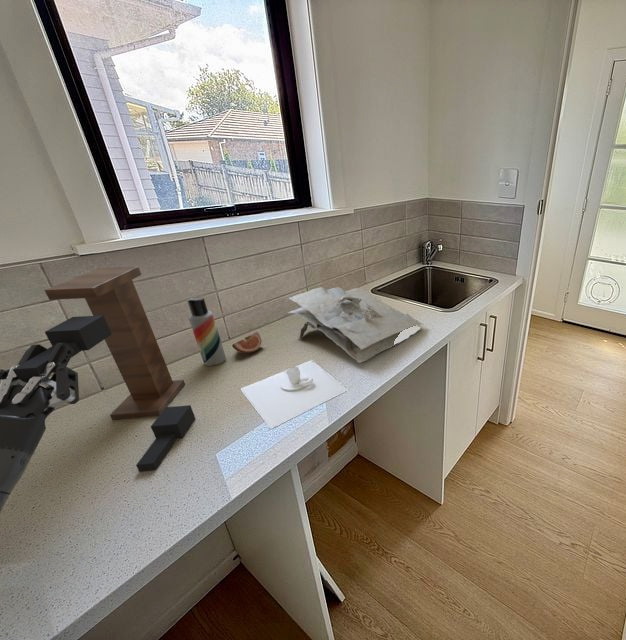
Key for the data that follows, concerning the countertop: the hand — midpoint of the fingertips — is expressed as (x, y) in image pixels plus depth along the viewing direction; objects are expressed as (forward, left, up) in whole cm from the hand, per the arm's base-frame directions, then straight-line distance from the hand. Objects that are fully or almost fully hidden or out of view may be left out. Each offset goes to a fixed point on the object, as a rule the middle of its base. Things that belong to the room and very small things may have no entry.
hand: (53, 346), depth 54 cm
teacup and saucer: (+35, -2, -27) cm, 44 cm away
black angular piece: (+8, -1, -26) cm, 28 cm away
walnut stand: (+7, +17, -26) cm, 32 cm away
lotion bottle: (+24, +27, -27) cm, 45 cm away
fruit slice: (+33, +26, -27) cm, 50 cm away
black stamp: (+1, +1, -2) cm, 3 cm away
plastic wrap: (+65, +13, -27) cm, 72 cm away
